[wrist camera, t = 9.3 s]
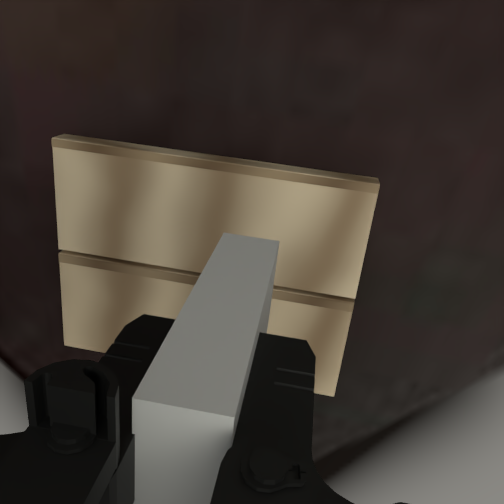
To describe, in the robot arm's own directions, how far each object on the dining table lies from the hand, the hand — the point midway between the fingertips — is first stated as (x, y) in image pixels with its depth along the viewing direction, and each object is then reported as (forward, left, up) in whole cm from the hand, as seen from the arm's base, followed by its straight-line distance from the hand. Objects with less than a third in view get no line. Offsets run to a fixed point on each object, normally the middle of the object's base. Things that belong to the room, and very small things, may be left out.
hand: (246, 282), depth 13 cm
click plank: (-5, -4, -18) cm, 19 cm away
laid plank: (-5, -12, -18) cm, 22 cm away
